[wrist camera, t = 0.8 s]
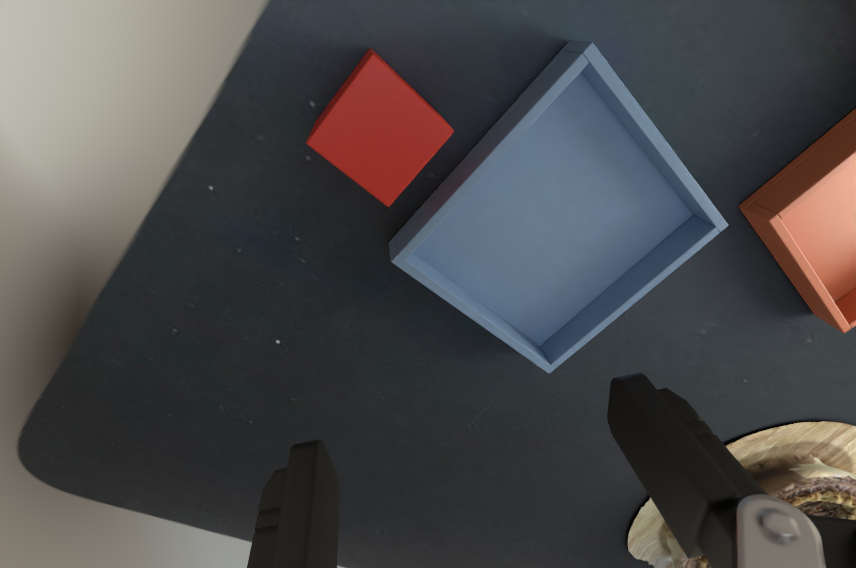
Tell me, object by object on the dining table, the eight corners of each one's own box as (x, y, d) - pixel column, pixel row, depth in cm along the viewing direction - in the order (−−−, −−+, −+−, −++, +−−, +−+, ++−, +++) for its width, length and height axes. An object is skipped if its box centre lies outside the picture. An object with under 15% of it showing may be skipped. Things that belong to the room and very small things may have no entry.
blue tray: (569, 39, 22) (592, 41, 19) (700, 210, 28) (729, 225, 26) (388, 242, 26) (390, 262, 24) (536, 351, 32) (549, 374, 30)
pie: (590, 512, 45) (615, 564, 40) (857, 372, 39) (918, 415, 34) (677, 593, 58) (702, 637, 54) (884, 498, 52) (930, 540, 48)
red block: (369, 47, 21) (372, 52, 17) (438, 113, 22) (455, 131, 19) (314, 122, 22) (305, 143, 18) (383, 178, 24) (388, 208, 20)
